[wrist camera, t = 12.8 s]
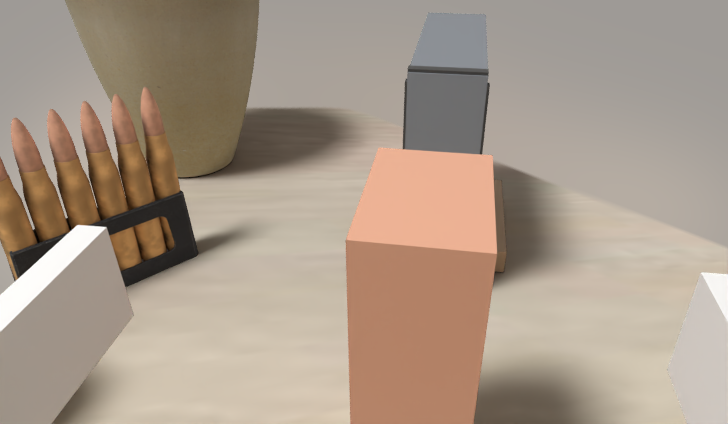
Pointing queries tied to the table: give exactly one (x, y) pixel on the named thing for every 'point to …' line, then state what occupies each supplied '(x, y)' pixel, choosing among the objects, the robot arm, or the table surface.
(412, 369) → the stub
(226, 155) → the plant pot
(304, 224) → the table surface
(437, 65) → the ticket block
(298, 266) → the table surface
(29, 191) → the ammunition clip
